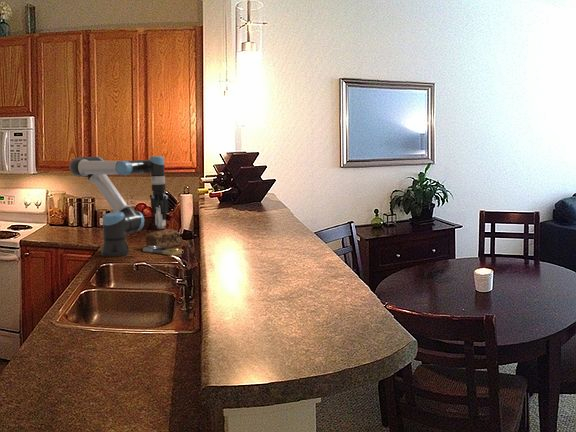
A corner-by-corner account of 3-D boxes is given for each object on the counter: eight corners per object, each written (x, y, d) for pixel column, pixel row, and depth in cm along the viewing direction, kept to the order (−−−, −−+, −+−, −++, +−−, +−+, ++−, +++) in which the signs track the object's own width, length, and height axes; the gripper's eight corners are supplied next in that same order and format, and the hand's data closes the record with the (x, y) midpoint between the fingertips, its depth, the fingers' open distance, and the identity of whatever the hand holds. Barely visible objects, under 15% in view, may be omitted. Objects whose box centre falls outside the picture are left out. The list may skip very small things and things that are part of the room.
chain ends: (143, 251, 315) (142, 246, 314) (153, 249, 321) (153, 244, 321) (173, 255, 302) (173, 250, 301) (183, 253, 308) (183, 248, 308)
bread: (170, 243, 340) (169, 227, 339) (181, 245, 334) (180, 229, 332) (145, 248, 326) (144, 231, 325) (156, 250, 319) (156, 233, 318)
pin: (154, 228, 307) (153, 207, 306) (161, 227, 311) (160, 206, 309) (160, 229, 304) (159, 207, 303) (166, 228, 308) (165, 207, 307)
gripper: (143, 184, 307) (145, 225, 309) (163, 184, 297) (165, 227, 299) (153, 183, 313) (155, 223, 315) (173, 183, 303) (176, 225, 305)
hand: (160, 225), depth 307 cm, fingers closed on pin, 4 cm apart
